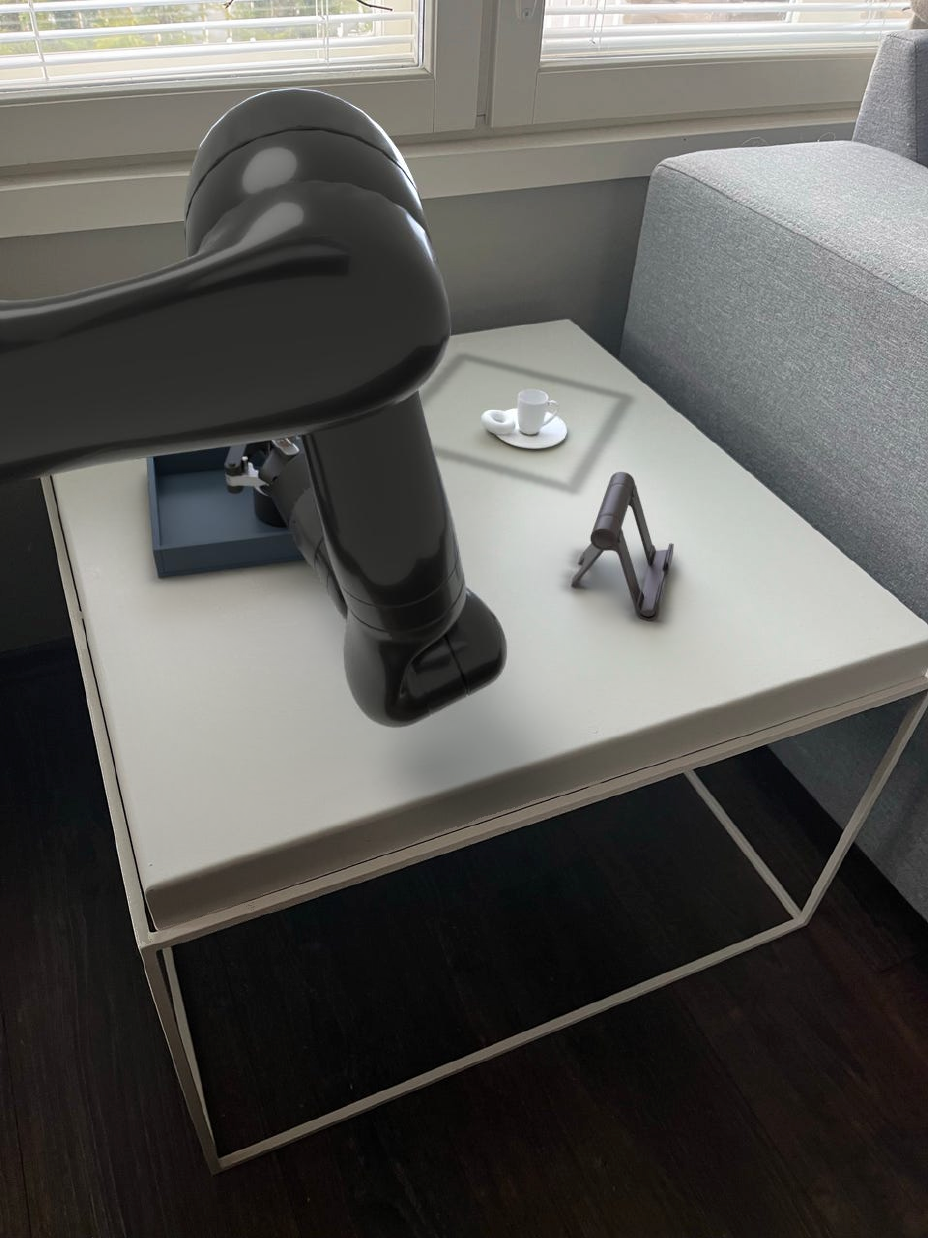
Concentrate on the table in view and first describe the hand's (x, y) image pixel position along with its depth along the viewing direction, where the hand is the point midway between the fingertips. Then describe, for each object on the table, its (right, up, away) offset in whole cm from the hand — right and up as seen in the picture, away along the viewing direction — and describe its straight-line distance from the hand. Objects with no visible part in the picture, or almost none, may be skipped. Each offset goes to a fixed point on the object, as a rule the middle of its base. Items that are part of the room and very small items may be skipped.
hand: (270, 407), depth 85 cm
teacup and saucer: (+22, +3, +19) cm, 29 cm away
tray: (-2, -9, +4) cm, 10 cm away
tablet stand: (+31, -16, 0) cm, 34 cm away
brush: (+1, -8, +4) cm, 9 cm away
